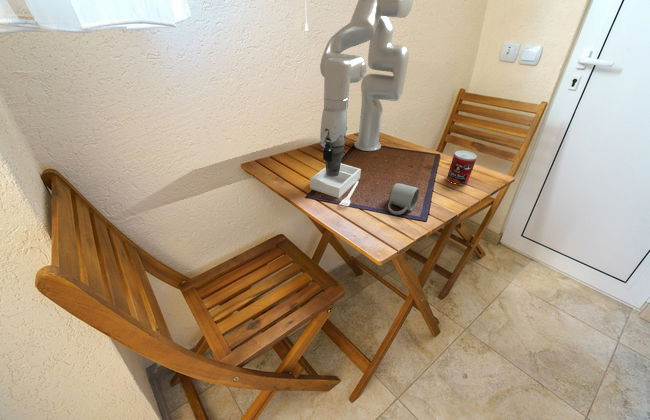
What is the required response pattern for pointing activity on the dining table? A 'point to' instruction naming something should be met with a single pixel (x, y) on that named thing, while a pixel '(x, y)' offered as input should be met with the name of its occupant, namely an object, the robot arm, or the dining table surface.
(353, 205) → the dining table surface
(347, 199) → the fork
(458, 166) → the canned food
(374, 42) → the robot arm
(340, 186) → the divided tray
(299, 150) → the dining table surface
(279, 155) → the dining table surface
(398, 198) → the ceramic mug
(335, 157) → the beverage cup
